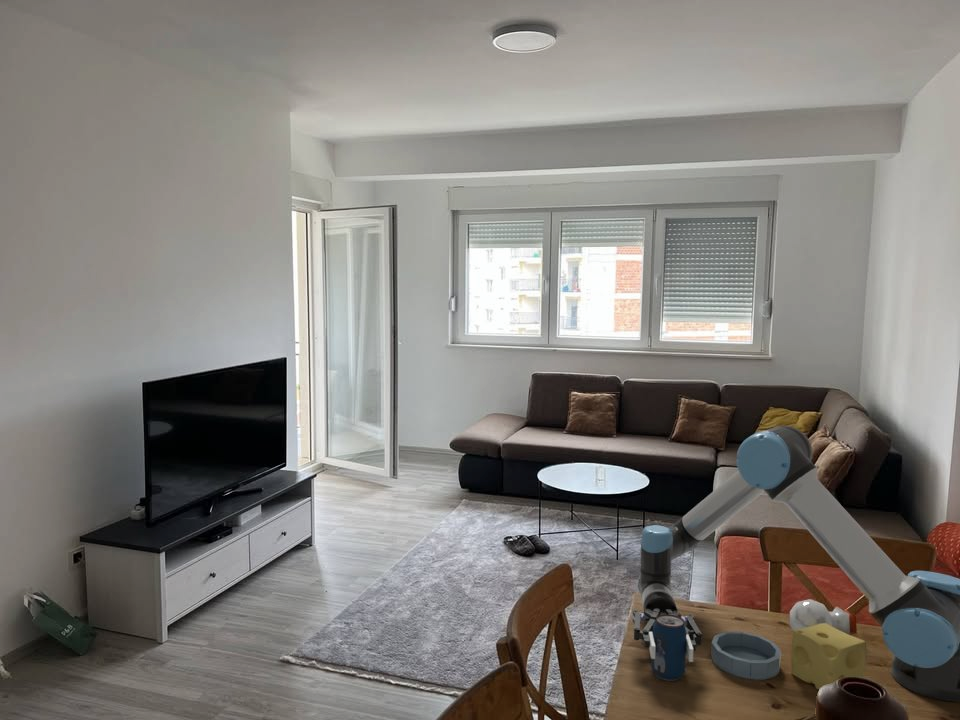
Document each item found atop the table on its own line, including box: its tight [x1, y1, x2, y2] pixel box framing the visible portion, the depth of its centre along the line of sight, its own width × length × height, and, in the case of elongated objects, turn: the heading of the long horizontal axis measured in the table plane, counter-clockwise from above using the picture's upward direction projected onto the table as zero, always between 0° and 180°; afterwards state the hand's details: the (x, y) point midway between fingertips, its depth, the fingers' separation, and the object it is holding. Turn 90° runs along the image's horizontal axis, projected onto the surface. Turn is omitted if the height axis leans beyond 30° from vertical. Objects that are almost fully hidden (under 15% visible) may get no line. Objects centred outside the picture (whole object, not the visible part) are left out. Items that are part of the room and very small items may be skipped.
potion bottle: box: [789, 598, 858, 636], centre depth 169 cm, size 9×10×15 cm
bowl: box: [710, 630, 782, 681], centre depth 157 cm, size 14×14×4 cm
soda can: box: [651, 614, 687, 682], centre depth 152 cm, size 7×7×12 cm
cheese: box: [790, 623, 868, 690], centre depth 150 cm, size 10×11×10 cm
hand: (672, 653), depth 147 cm, fingers closed on soda can, 7 cm apart
